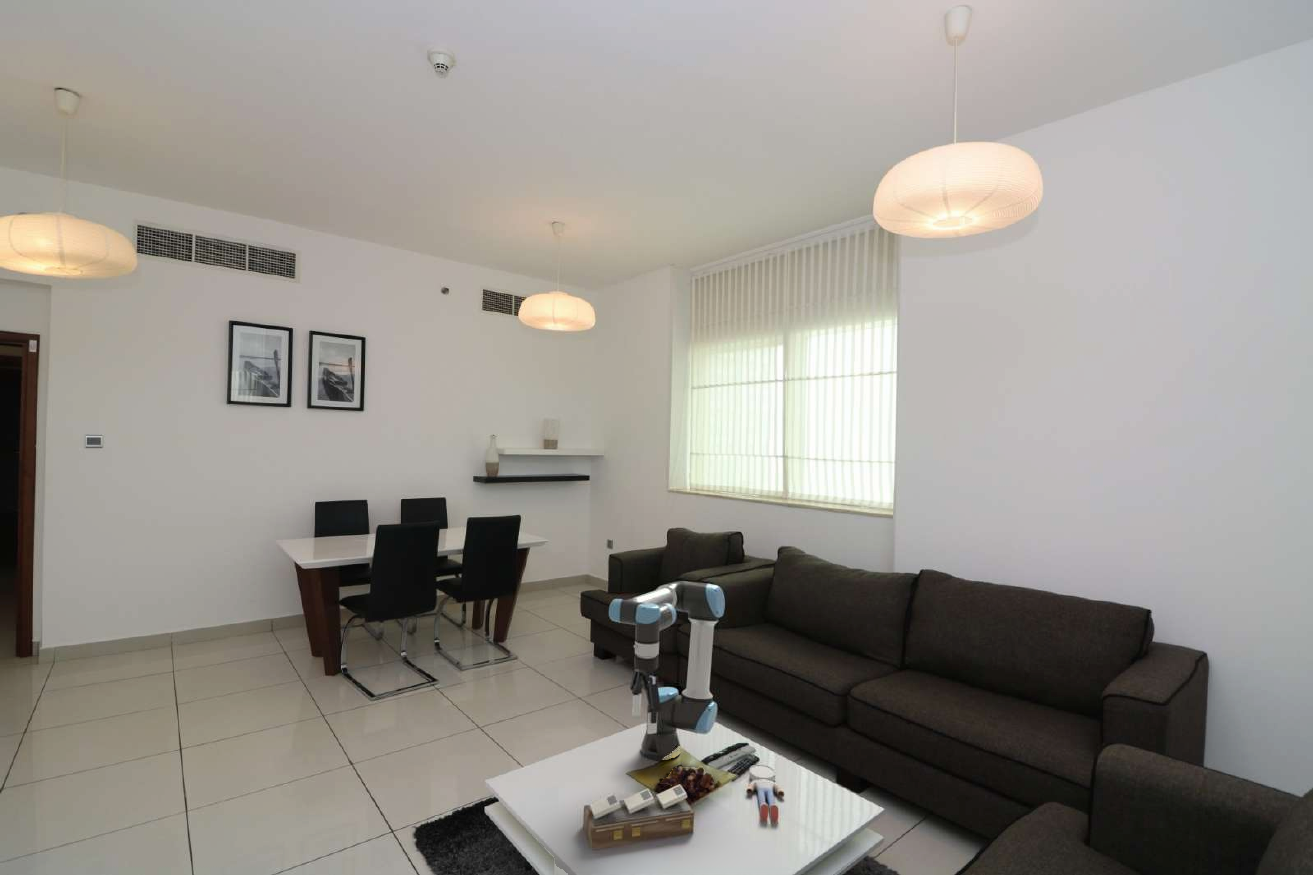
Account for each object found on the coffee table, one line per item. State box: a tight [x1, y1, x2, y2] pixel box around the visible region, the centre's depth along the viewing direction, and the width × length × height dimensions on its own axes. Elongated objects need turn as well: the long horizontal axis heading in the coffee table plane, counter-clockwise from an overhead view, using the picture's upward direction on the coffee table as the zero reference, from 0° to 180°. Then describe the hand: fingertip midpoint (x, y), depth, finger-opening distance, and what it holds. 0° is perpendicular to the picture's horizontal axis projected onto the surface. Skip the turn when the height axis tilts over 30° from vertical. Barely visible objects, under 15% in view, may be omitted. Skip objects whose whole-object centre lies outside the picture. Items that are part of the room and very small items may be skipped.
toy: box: [746, 764, 785, 822], centre depth 208 cm, size 6×13×30 cm
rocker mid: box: [623, 788, 655, 814], centre depth 186 cm, size 6×8×1 cm
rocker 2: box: [656, 783, 688, 809], centre depth 189 cm, size 6×8×2 cm
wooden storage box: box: [582, 794, 695, 851], centre depth 186 cm, size 12×31×7 cm, turn 108°
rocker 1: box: [589, 792, 621, 819], centre depth 183 cm, size 6×8×2 cm
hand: (643, 724), depth 193 cm, fingers open, 13 cm apart
